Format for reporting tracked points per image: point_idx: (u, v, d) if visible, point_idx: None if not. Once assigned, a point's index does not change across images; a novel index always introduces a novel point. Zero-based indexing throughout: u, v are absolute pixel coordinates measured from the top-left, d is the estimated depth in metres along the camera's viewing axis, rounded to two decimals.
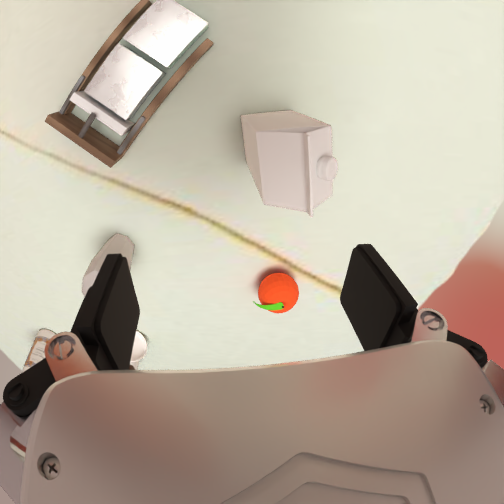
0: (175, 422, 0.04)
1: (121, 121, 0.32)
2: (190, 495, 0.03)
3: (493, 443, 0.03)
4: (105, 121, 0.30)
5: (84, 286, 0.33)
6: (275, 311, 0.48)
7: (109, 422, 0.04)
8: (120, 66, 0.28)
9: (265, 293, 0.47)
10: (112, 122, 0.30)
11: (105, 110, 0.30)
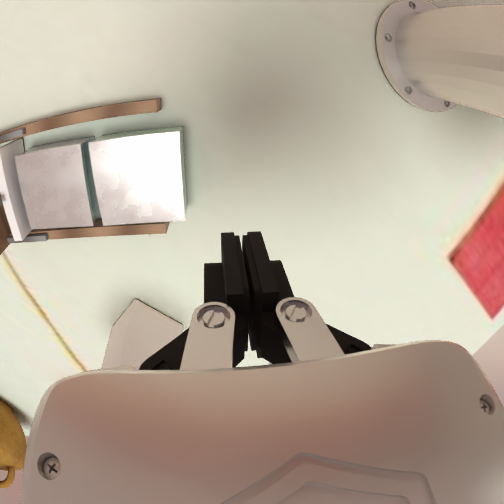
0: (175, 422, 0.04)
1: (23, 224, 0.22)
2: (190, 495, 0.03)
3: (493, 443, 0.03)
4: (8, 214, 0.20)
5: None
6: None
7: (109, 422, 0.04)
8: (61, 174, 0.20)
9: None
10: (13, 222, 0.21)
11: (17, 196, 0.20)
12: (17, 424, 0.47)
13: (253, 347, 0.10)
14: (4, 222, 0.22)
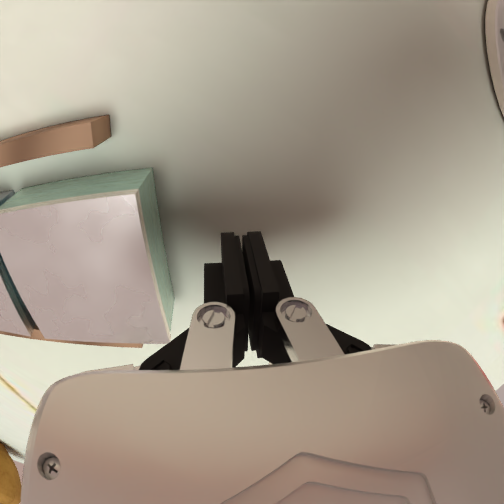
0: (175, 422, 0.04)
1: None
2: (190, 495, 0.03)
3: (493, 443, 0.03)
4: None
5: None
6: None
7: (109, 422, 0.04)
8: None
9: None
10: None
11: None
12: (9, 462, 0.36)
13: (253, 347, 0.10)
14: None
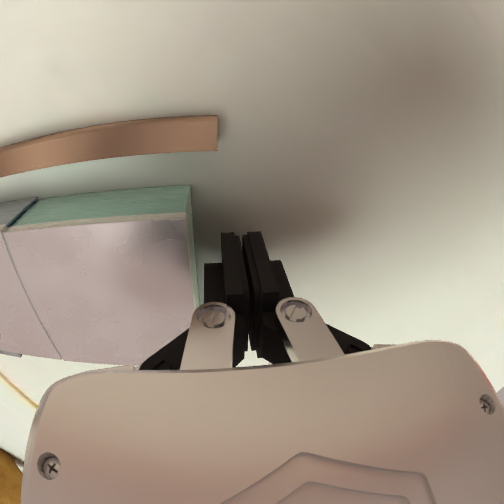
0: (175, 422, 0.04)
1: None
2: (190, 495, 0.03)
3: (493, 443, 0.03)
4: None
5: None
6: None
7: (109, 421, 0.04)
8: None
9: None
10: None
11: None
12: (19, 474, 0.34)
13: (253, 347, 0.10)
14: None
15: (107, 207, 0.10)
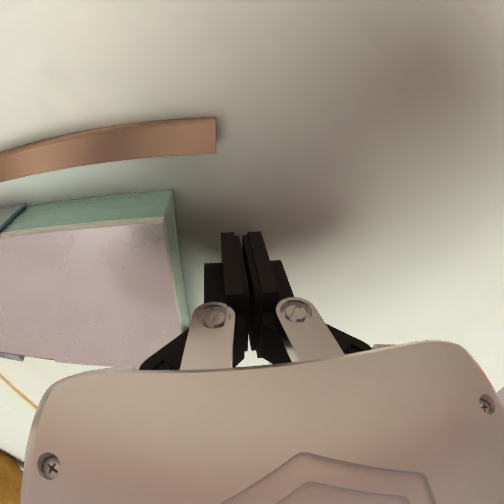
0: (175, 422, 0.04)
1: None
2: (190, 495, 0.03)
3: (493, 443, 0.03)
4: None
5: None
6: None
7: (109, 422, 0.04)
8: None
9: None
10: None
11: None
12: None
13: (253, 347, 0.10)
14: None
15: (91, 212, 0.10)
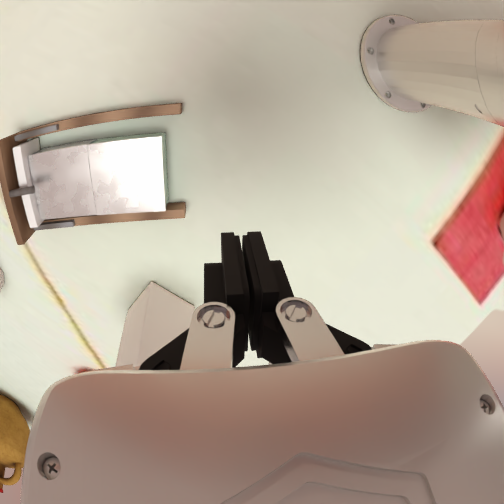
0: (175, 422, 0.04)
1: (38, 213, 0.26)
2: (190, 495, 0.03)
3: (493, 443, 0.03)
4: (25, 203, 0.24)
5: None
6: None
7: (109, 422, 0.04)
8: (70, 170, 0.24)
9: None
10: (29, 210, 0.24)
11: None
12: (23, 421, 0.49)
13: (253, 347, 0.10)
14: None
15: (133, 137, 0.25)
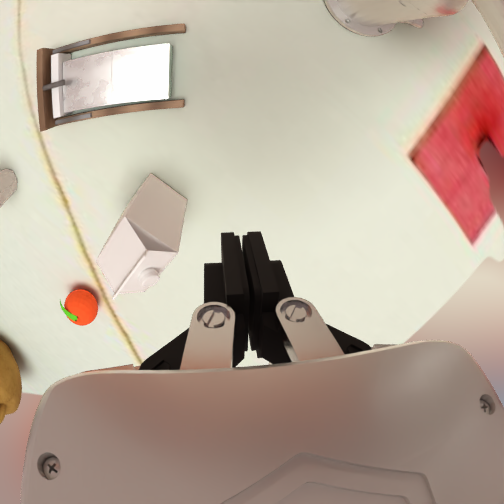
0: (175, 422, 0.04)
1: (62, 107, 0.29)
2: (190, 495, 0.03)
3: (493, 443, 0.03)
4: (54, 97, 0.28)
5: None
6: (69, 318, 0.45)
7: (109, 422, 0.04)
8: (95, 70, 0.28)
9: (71, 301, 0.45)
10: (56, 103, 0.28)
11: (62, 87, 0.28)
12: (14, 362, 0.54)
13: (253, 347, 0.10)
14: None
15: None
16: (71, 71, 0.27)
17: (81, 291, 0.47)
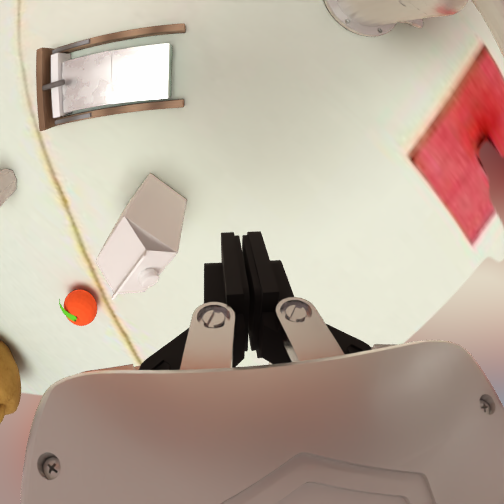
0: (175, 422, 0.04)
1: (62, 106, 0.29)
2: (190, 495, 0.03)
3: (493, 443, 0.03)
4: (53, 97, 0.27)
5: None
6: (68, 318, 0.45)
7: (109, 422, 0.04)
8: (95, 70, 0.28)
9: (70, 302, 0.44)
10: (56, 102, 0.28)
11: None
12: (14, 363, 0.53)
13: (253, 347, 0.10)
14: None
15: None
16: (70, 71, 0.27)
17: (80, 291, 0.47)
